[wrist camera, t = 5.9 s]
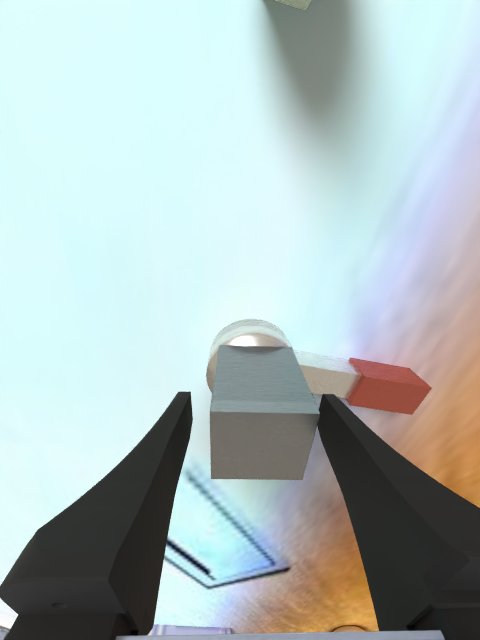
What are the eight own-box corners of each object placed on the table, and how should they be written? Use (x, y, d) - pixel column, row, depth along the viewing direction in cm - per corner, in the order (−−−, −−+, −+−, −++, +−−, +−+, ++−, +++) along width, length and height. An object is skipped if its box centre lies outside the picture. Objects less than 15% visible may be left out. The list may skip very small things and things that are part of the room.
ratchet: (421, 350, 17) (488, 398, 12) (383, 408, 19) (428, 465, 15) (217, 311, 15) (210, 351, 11) (205, 380, 17) (194, 435, 13)
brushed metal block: (291, 347, 13) (320, 413, 9) (282, 401, 15) (302, 479, 11) (218, 345, 13) (209, 411, 9) (218, 400, 15) (211, 478, 11)
